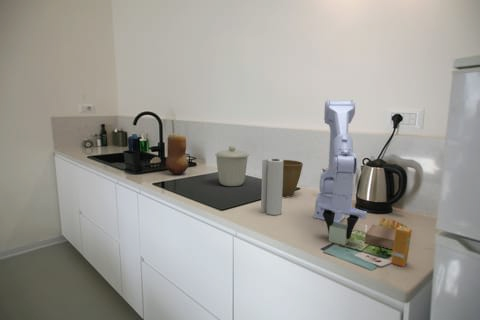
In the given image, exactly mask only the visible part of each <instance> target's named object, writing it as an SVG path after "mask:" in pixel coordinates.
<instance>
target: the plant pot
mask: <svg viewBox="0 0 480 320" xmlns="http://www.w3.org/2000/svg"><path fill="white" fill-rule="evenodd" d="M282 160H283V187H282V197H283V196H290V197H293V196H294V193H295V191H296V189H297V186H298V184H299V181H300V178H301V175H302V170H303V166H304V165H303V164H304V163H303V162H302V161H298V160H292V159H282ZM292 195H293V196H292Z"/></svg>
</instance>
